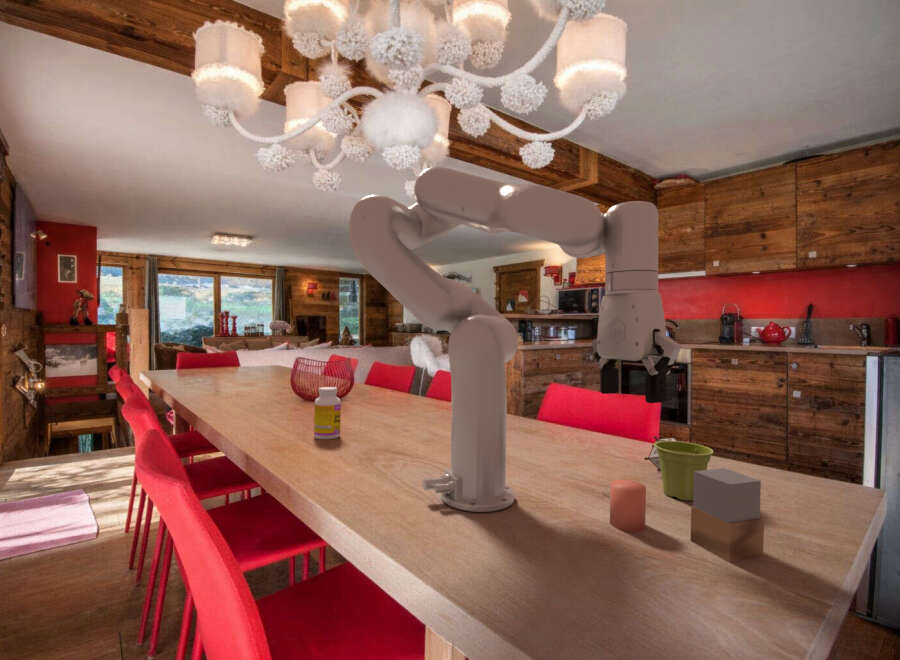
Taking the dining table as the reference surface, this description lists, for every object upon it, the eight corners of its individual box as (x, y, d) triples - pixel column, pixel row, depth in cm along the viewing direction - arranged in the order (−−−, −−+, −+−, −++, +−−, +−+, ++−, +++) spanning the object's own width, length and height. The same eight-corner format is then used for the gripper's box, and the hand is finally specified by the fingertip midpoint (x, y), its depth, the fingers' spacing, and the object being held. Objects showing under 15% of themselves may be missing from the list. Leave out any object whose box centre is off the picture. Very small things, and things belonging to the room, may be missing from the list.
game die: (679, 496, 90) (706, 466, 84) (637, 478, 91) (660, 447, 85) (677, 464, 97) (702, 433, 91) (638, 447, 98) (660, 416, 93)
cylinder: (625, 534, 65) (625, 492, 65) (602, 519, 70) (603, 481, 70) (652, 529, 67) (653, 489, 67) (629, 515, 71) (629, 478, 71)
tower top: (728, 523, 58) (729, 484, 58) (693, 506, 63) (694, 471, 63) (759, 518, 60) (760, 480, 60) (722, 502, 65) (723, 467, 65)
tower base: (729, 563, 58) (729, 524, 58) (690, 541, 63) (691, 506, 63) (763, 556, 60) (763, 518, 59) (722, 535, 65) (723, 501, 65)
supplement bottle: (336, 440, 114) (337, 390, 114) (310, 440, 114) (311, 389, 114) (343, 434, 121) (343, 386, 121) (318, 433, 121) (319, 386, 121)
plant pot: (645, 485, 86) (646, 439, 85) (695, 486, 85) (696, 440, 85) (667, 504, 76) (668, 453, 76) (723, 506, 76) (724, 455, 76)
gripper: (576, 289, 75) (576, 391, 76) (655, 279, 59) (655, 408, 59) (612, 290, 78) (612, 389, 78) (698, 280, 62) (698, 405, 62)
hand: (631, 397), depth 69 cm, fingers open, 9 cm apart
